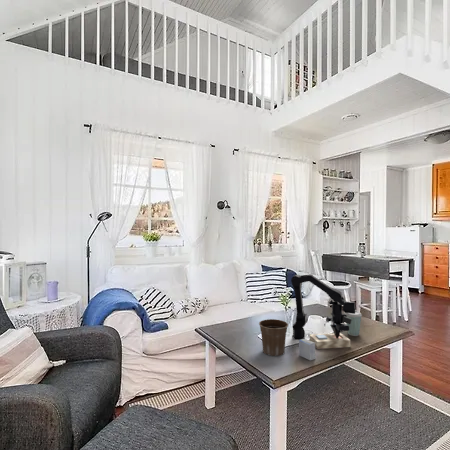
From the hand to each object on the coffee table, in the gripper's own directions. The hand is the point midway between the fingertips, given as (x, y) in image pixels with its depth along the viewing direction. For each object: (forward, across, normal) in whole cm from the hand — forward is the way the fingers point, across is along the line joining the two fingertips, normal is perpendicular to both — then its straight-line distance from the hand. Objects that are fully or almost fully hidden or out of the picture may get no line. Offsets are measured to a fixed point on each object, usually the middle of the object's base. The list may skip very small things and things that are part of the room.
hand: (337, 337), depth 184 cm
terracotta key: (+3, 0, 0) cm, 3 cm away
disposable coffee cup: (+4, +13, -17) cm, 22 cm away
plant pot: (+4, -7, +41) cm, 42 cm away
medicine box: (+4, -16, +25) cm, 30 cm away
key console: (+3, 0, +5) cm, 6 cm away
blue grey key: (+2, 0, +10) cm, 10 cm away
